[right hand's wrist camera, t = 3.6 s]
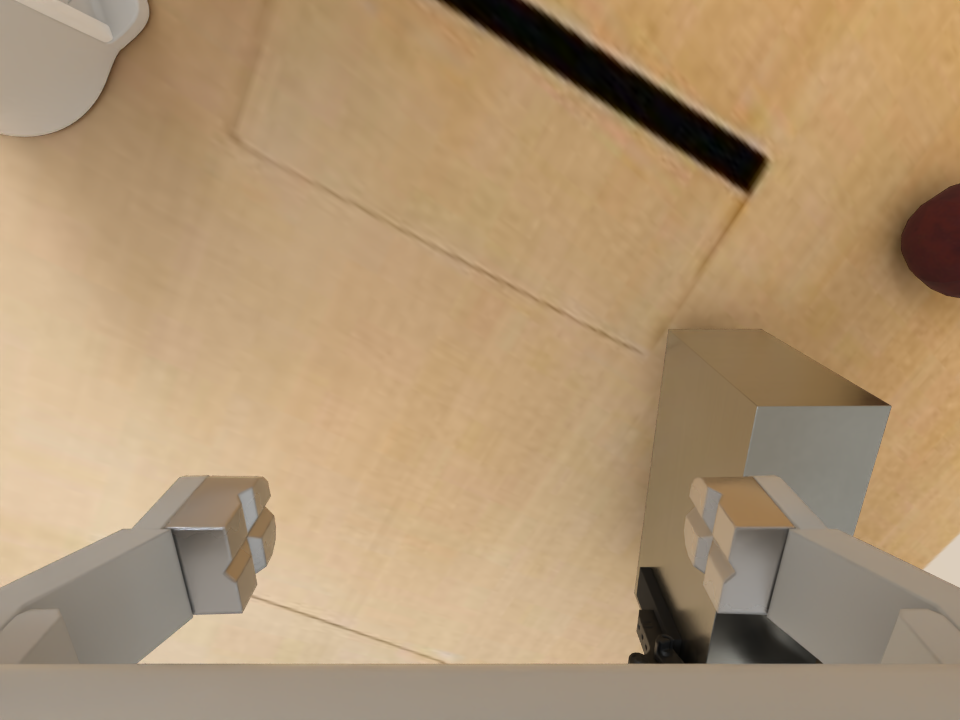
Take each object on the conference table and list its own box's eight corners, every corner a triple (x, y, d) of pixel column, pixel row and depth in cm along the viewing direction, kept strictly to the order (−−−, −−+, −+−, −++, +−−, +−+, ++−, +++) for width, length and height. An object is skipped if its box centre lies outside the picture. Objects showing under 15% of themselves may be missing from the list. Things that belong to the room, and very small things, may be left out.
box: (668, 329, 36) (757, 406, 25) (761, 328, 36) (892, 405, 25) (634, 593, 44) (689, 742, 33) (710, 592, 44) (792, 741, 33)
